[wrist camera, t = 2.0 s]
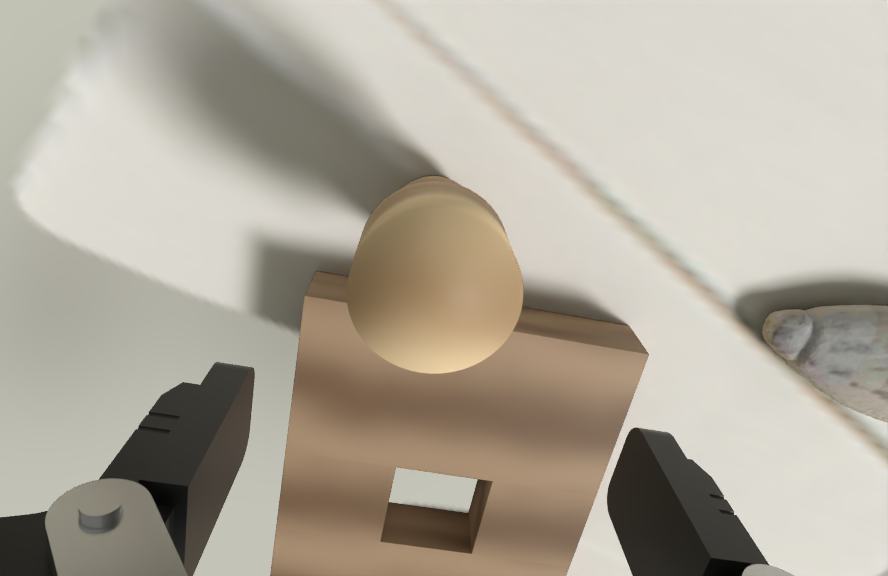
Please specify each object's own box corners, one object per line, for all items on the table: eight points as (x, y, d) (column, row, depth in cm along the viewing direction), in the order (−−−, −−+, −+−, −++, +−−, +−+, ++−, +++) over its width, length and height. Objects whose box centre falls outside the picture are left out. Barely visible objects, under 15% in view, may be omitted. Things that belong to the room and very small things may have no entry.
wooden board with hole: (316, 271, 29) (304, 295, 27) (629, 325, 31) (649, 354, 28) (274, 594, 38) (262, 639, 35) (523, 625, 39) (530, 670, 36)
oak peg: (383, 140, 27) (360, 195, 18) (504, 164, 28) (543, 230, 18) (364, 256, 29) (335, 359, 20) (478, 276, 30) (500, 385, 20)
